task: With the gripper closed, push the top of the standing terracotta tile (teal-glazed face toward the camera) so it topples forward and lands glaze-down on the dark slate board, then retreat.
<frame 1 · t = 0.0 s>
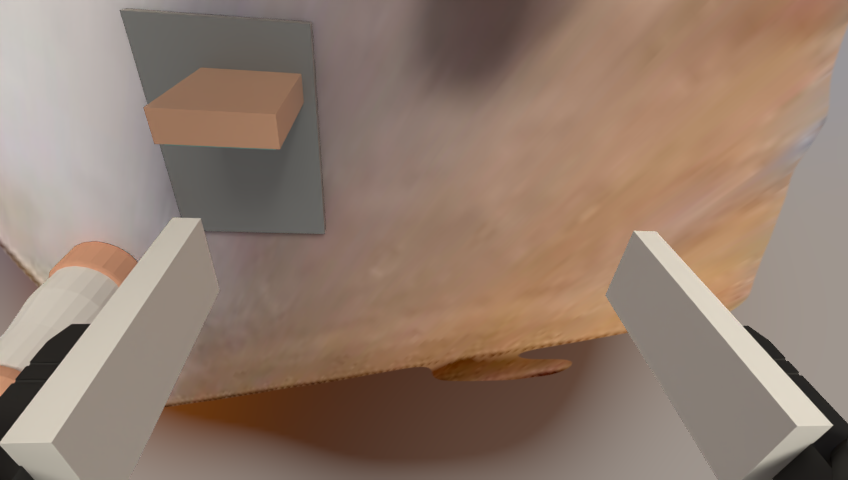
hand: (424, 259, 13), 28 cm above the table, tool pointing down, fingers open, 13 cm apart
tile: (253, 85, 36), point 1 cm above the table, touching slate board
salt shaker: (107, 267, 47), on the table
slate board: (242, 136, 39), on the table
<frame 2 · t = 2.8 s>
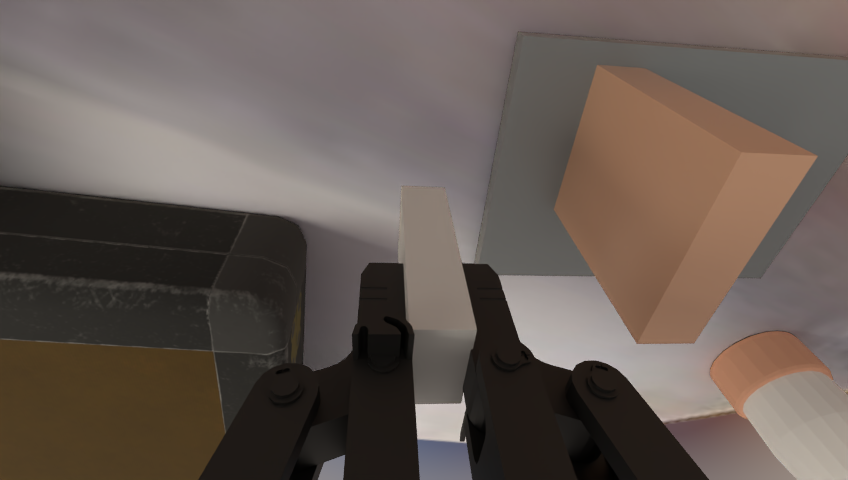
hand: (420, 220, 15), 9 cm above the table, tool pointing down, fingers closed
tile: (594, 145, 22), point 1 cm above the table, touching slate board
salt shaker: (751, 357, 37), on the table
slate board: (658, 174, 25), on the table
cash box: (160, 342, 31), on the table
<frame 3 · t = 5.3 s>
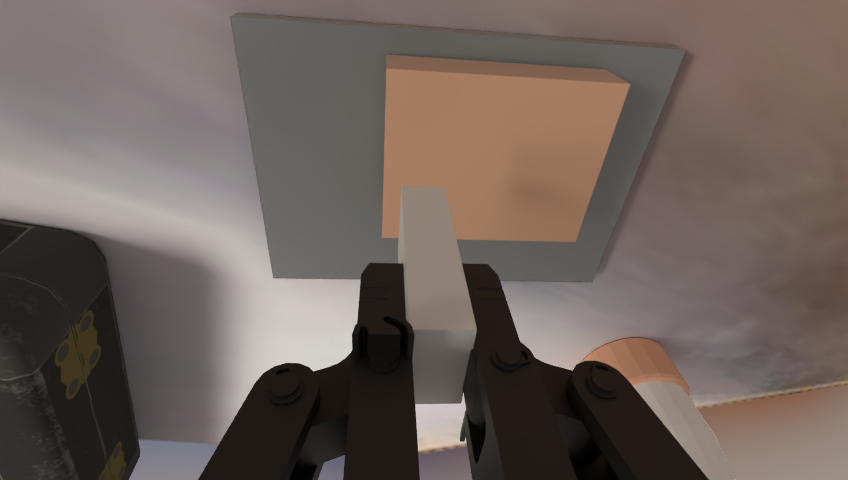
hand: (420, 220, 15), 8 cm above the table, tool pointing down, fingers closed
tile: (383, 152, 20), point 2 cm above the table, tilted 90°, touching slate board
salt shaker: (618, 365, 35), on the table
slate board: (449, 170, 23), on the table
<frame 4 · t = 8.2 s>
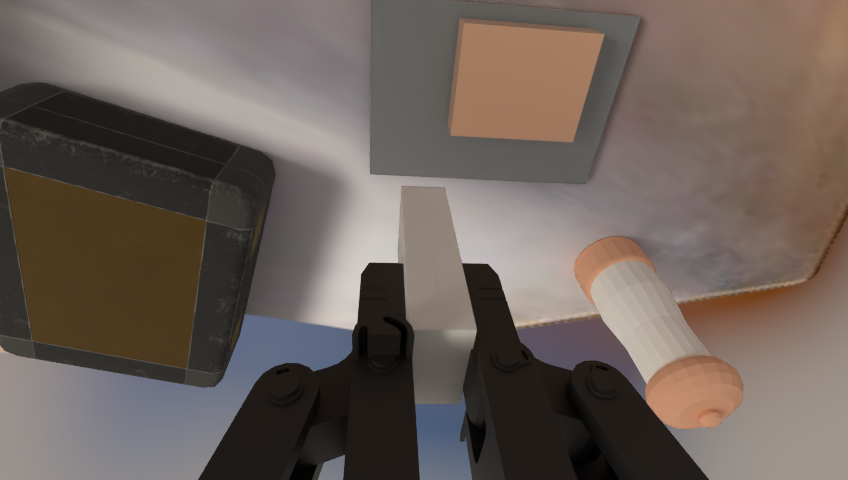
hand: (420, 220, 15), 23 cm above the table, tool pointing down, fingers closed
tile: (454, 79, 32), point 2 cm above the table, tilted 90°, touching slate board
salt shaker: (606, 261, 47), on the table
slate board: (491, 98, 36), on the table
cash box: (151, 232, 42), on the table
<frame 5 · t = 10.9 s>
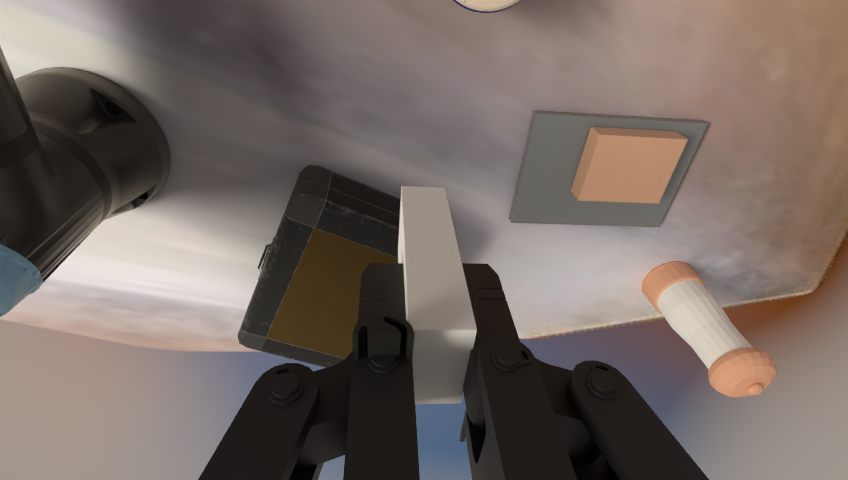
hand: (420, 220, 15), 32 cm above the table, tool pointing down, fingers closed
tile: (584, 164, 48), point 2 cm above the table, tilted 90°, touching slate board
salt shaker: (665, 279, 63), on the table
slate board: (600, 172, 52), on the table
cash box: (344, 262, 58), on the table
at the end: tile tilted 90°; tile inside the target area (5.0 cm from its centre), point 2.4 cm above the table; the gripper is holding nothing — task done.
